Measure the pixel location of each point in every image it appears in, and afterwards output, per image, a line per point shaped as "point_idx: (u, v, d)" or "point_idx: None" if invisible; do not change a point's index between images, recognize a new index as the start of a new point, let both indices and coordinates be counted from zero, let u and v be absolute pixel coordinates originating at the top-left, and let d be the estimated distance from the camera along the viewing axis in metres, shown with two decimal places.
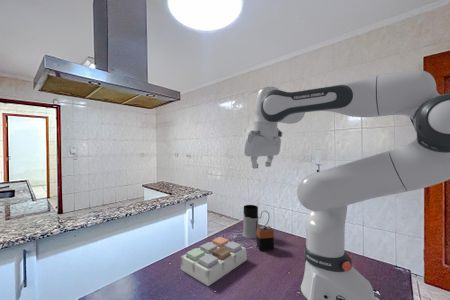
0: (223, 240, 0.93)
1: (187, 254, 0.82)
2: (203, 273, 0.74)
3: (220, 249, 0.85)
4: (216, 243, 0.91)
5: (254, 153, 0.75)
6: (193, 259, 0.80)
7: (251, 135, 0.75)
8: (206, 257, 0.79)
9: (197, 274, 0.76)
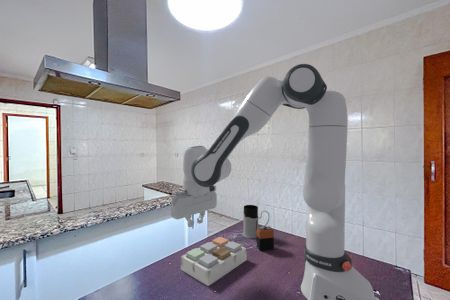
0: (223, 240, 0.93)
1: (187, 254, 0.82)
2: (203, 273, 0.74)
3: (220, 249, 0.85)
4: (216, 243, 0.91)
5: (179, 215, 0.75)
6: (193, 259, 0.80)
7: (175, 197, 0.75)
8: (206, 257, 0.79)
9: (197, 274, 0.76)
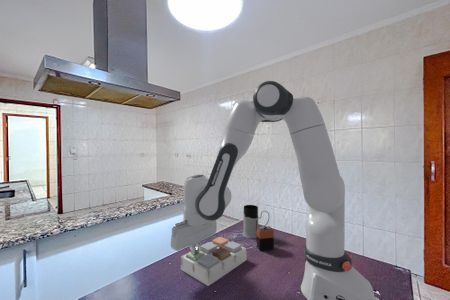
0: (223, 240, 0.93)
1: (187, 255, 0.82)
2: (203, 273, 0.74)
3: (220, 249, 0.85)
4: (216, 243, 0.91)
5: (179, 246, 0.75)
6: (193, 260, 0.80)
7: (175, 229, 0.75)
8: (206, 257, 0.79)
9: (197, 274, 0.76)
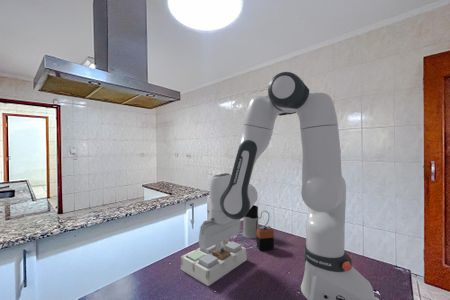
0: None
1: (187, 257, 0.82)
2: (203, 273, 0.74)
3: None
4: None
5: (208, 244, 0.76)
6: None
7: (203, 227, 0.76)
8: (206, 257, 0.79)
9: (197, 274, 0.76)
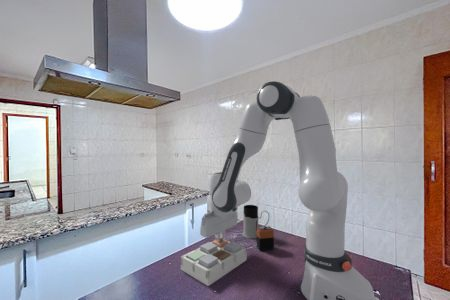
0: (223, 241, 0.93)
1: (187, 257, 0.82)
2: (203, 273, 0.74)
3: (220, 252, 0.85)
4: (216, 244, 0.91)
5: (208, 234, 0.86)
6: None
7: (204, 219, 0.86)
8: (206, 257, 0.79)
9: (197, 274, 0.76)
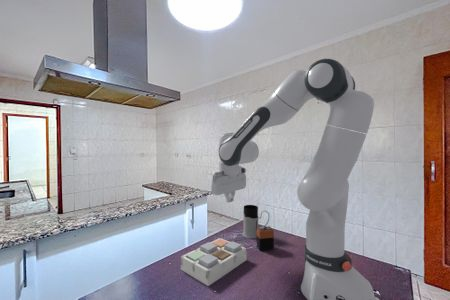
0: (223, 242, 0.93)
1: (187, 257, 0.82)
2: (203, 273, 0.74)
3: (220, 252, 0.85)
4: None
5: (219, 191, 0.87)
6: None
7: (215, 176, 0.88)
8: (206, 257, 0.79)
9: (197, 274, 0.76)
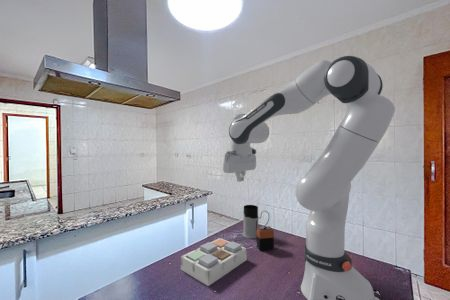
0: (223, 242, 0.93)
1: (187, 257, 0.82)
2: (203, 273, 0.74)
3: (220, 252, 0.85)
4: None
5: (231, 169, 0.90)
6: None
7: (227, 155, 0.90)
8: (206, 257, 0.79)
9: (197, 274, 0.76)
